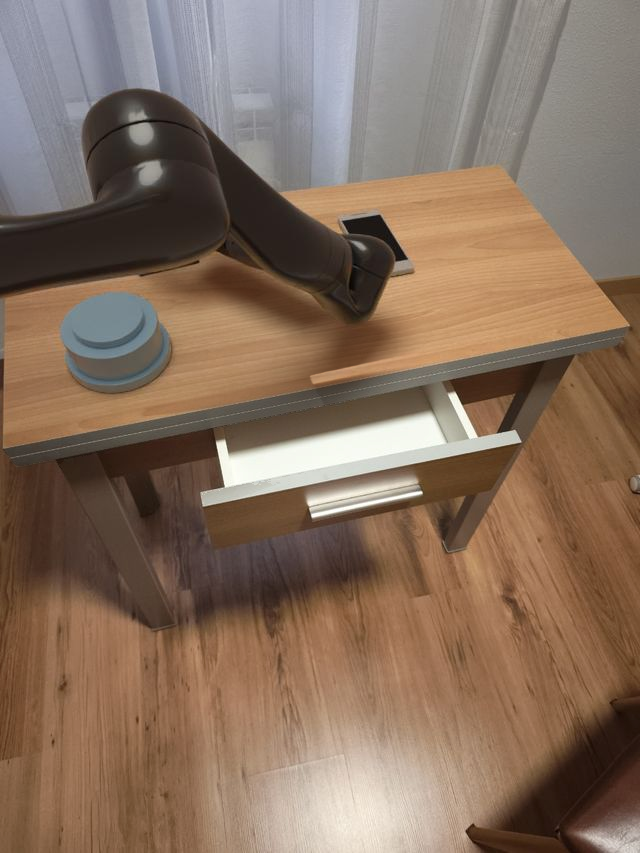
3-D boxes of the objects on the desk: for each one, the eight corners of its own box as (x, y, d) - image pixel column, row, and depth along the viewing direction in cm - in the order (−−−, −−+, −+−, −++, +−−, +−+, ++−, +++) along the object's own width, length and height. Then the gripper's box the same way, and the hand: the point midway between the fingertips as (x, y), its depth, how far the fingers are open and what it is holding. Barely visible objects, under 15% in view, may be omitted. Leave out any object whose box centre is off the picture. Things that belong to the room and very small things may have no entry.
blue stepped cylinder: (77, 405, 69) (58, 369, 63) (62, 333, 76) (44, 295, 70) (182, 376, 72) (173, 339, 67) (158, 310, 79) (148, 271, 74)
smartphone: (369, 280, 84) (370, 275, 83) (336, 220, 92) (337, 215, 91) (414, 272, 85) (415, 267, 84) (377, 213, 94) (378, 208, 93)
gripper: (277, 180, 74) (181, 143, 79) (208, 236, 67) (107, 191, 71) (279, 230, 80) (190, 193, 85) (216, 286, 73) (122, 241, 78)
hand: (152, 192), depth 78 cm, fingers open, 8 cm apart
